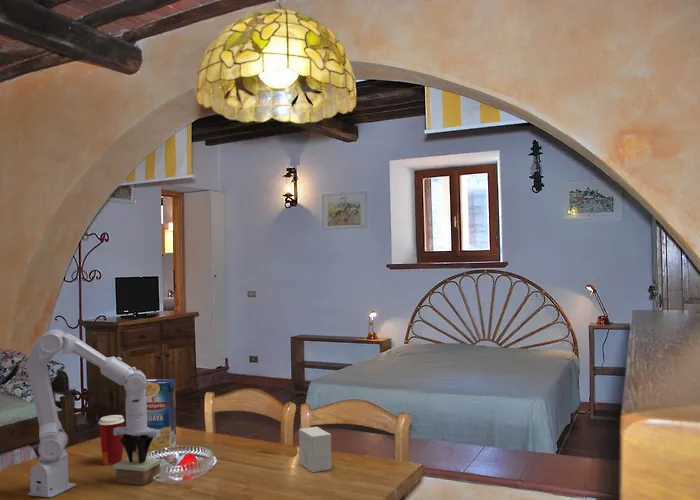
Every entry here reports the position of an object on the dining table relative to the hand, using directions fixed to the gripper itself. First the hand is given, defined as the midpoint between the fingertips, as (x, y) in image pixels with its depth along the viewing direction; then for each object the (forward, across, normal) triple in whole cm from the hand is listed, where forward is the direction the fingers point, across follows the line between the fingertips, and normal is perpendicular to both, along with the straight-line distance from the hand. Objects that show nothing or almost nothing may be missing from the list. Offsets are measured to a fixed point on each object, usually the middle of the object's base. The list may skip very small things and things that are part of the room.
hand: (137, 461), depth 180 cm
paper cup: (+5, +18, -12) cm, 22 cm away
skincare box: (+6, -46, -22) cm, 52 cm away
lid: (+1, 0, 0) cm, 1 cm away
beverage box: (+5, +14, -30) cm, 33 cm away
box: (+5, 0, 0) cm, 5 cm away
